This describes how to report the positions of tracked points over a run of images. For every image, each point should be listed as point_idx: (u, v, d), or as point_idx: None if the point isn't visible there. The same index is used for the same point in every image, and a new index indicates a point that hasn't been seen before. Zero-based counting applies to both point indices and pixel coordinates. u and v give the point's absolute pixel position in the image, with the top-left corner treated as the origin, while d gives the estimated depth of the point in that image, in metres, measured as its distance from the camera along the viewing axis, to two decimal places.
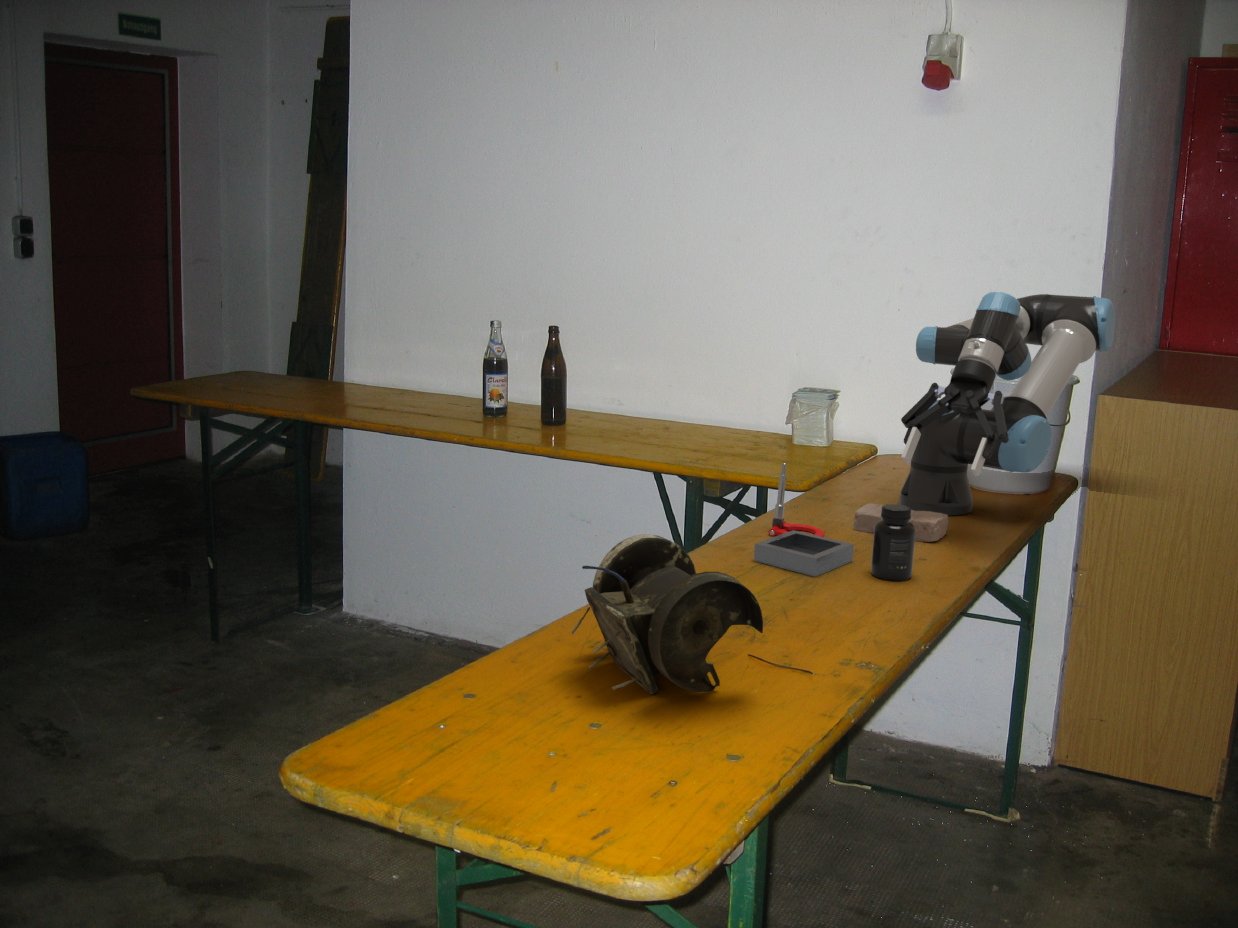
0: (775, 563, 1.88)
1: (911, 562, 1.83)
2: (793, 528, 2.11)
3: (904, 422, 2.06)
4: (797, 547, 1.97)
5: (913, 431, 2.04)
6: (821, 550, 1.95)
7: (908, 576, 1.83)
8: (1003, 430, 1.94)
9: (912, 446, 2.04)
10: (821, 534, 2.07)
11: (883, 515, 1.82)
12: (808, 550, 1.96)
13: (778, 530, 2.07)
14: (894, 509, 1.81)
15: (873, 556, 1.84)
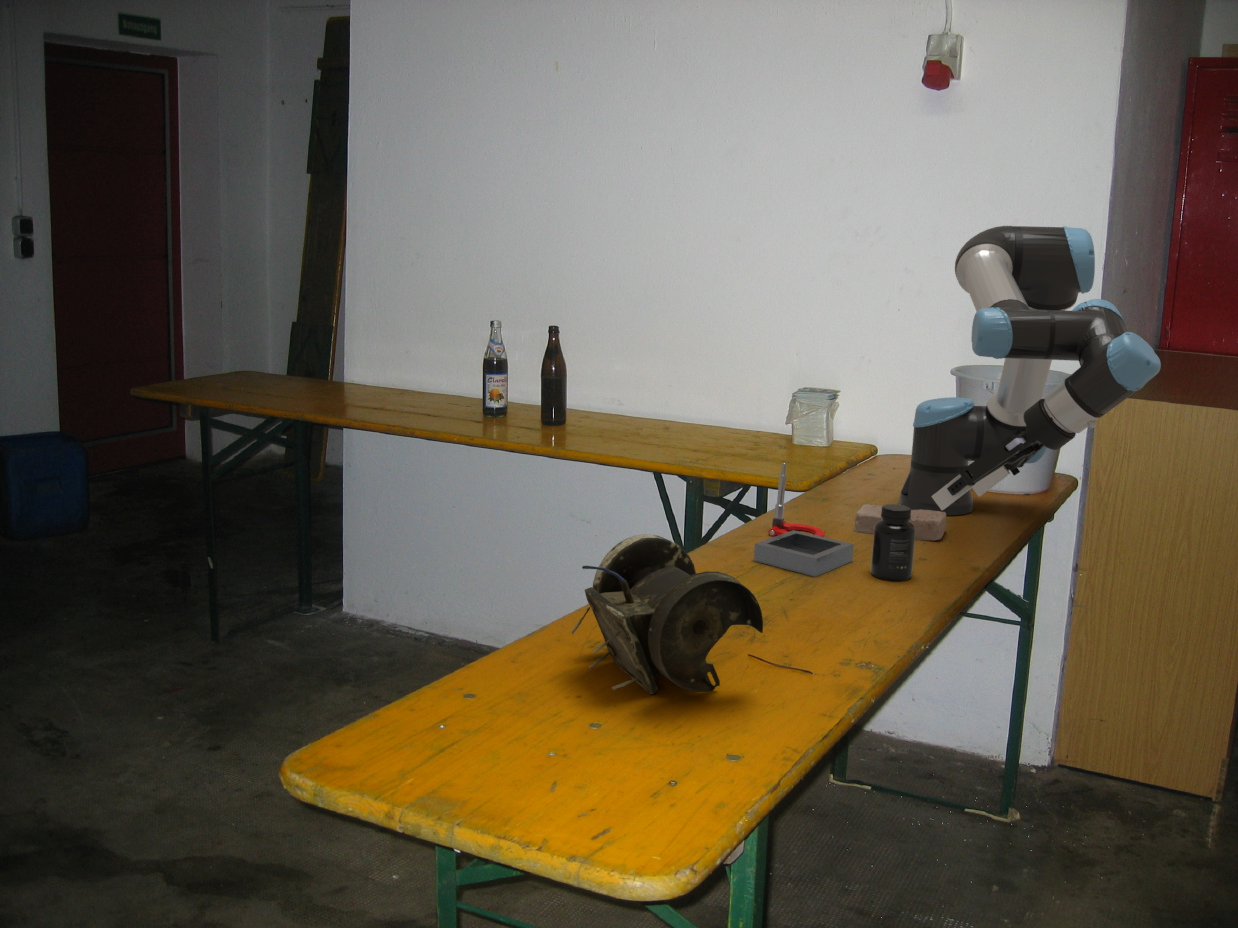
0: (775, 563, 1.88)
1: (911, 562, 1.83)
2: (793, 528, 2.11)
3: None
4: (797, 547, 1.97)
5: (969, 489, 1.66)
6: (821, 550, 1.95)
7: (908, 576, 1.83)
8: None
9: None
10: (821, 534, 2.07)
11: (883, 515, 1.82)
12: (808, 550, 1.96)
13: (778, 530, 2.07)
14: (894, 509, 1.81)
15: (873, 556, 1.84)
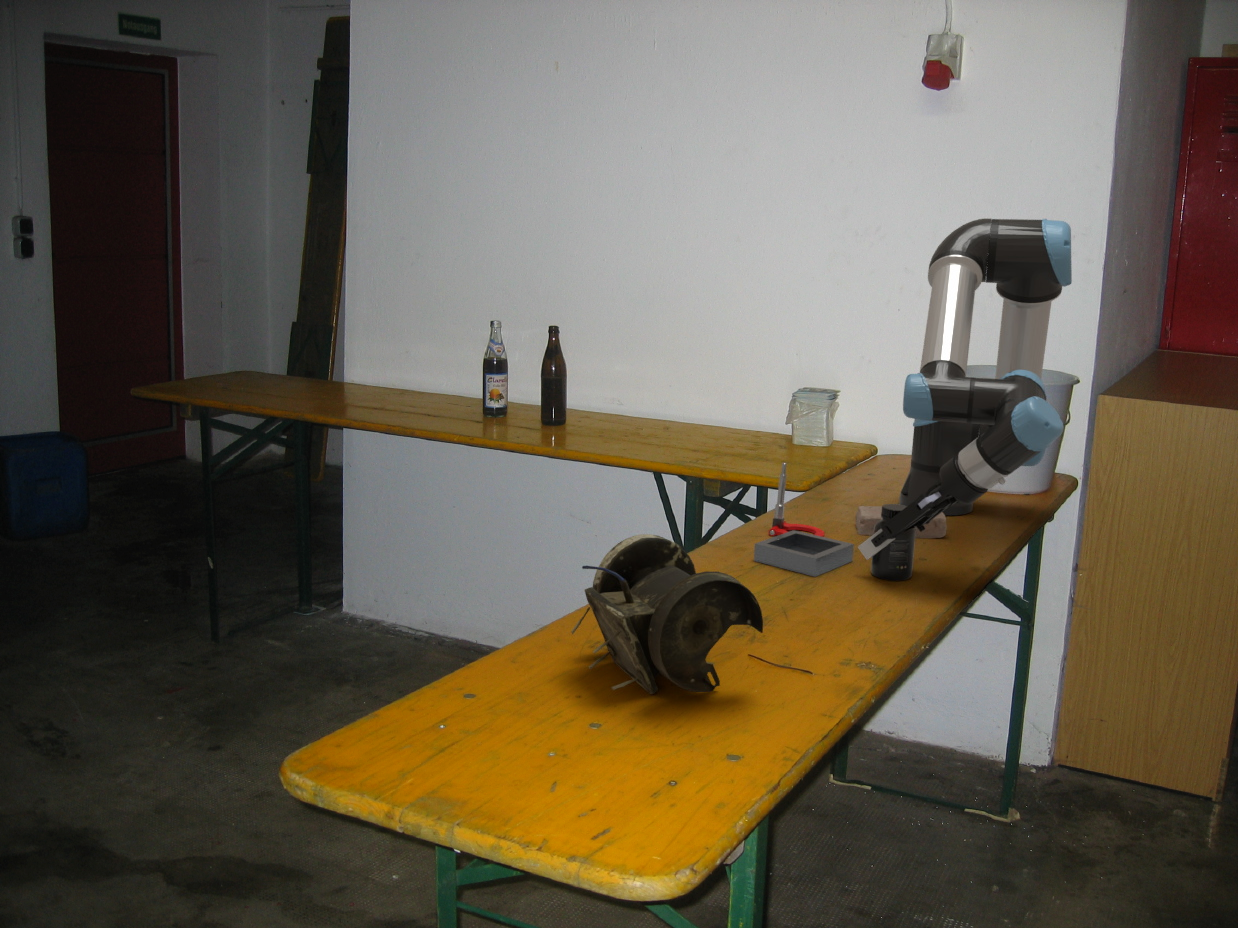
0: (775, 563, 1.88)
1: (911, 562, 1.83)
2: (793, 528, 2.11)
3: None
4: (797, 547, 1.97)
5: (890, 541, 1.80)
6: (821, 550, 1.95)
7: (908, 576, 1.83)
8: (931, 519, 1.86)
9: None
10: (821, 534, 2.07)
11: (883, 515, 1.82)
12: (808, 550, 1.96)
13: (778, 530, 2.07)
14: (894, 509, 1.81)
15: (873, 556, 1.84)
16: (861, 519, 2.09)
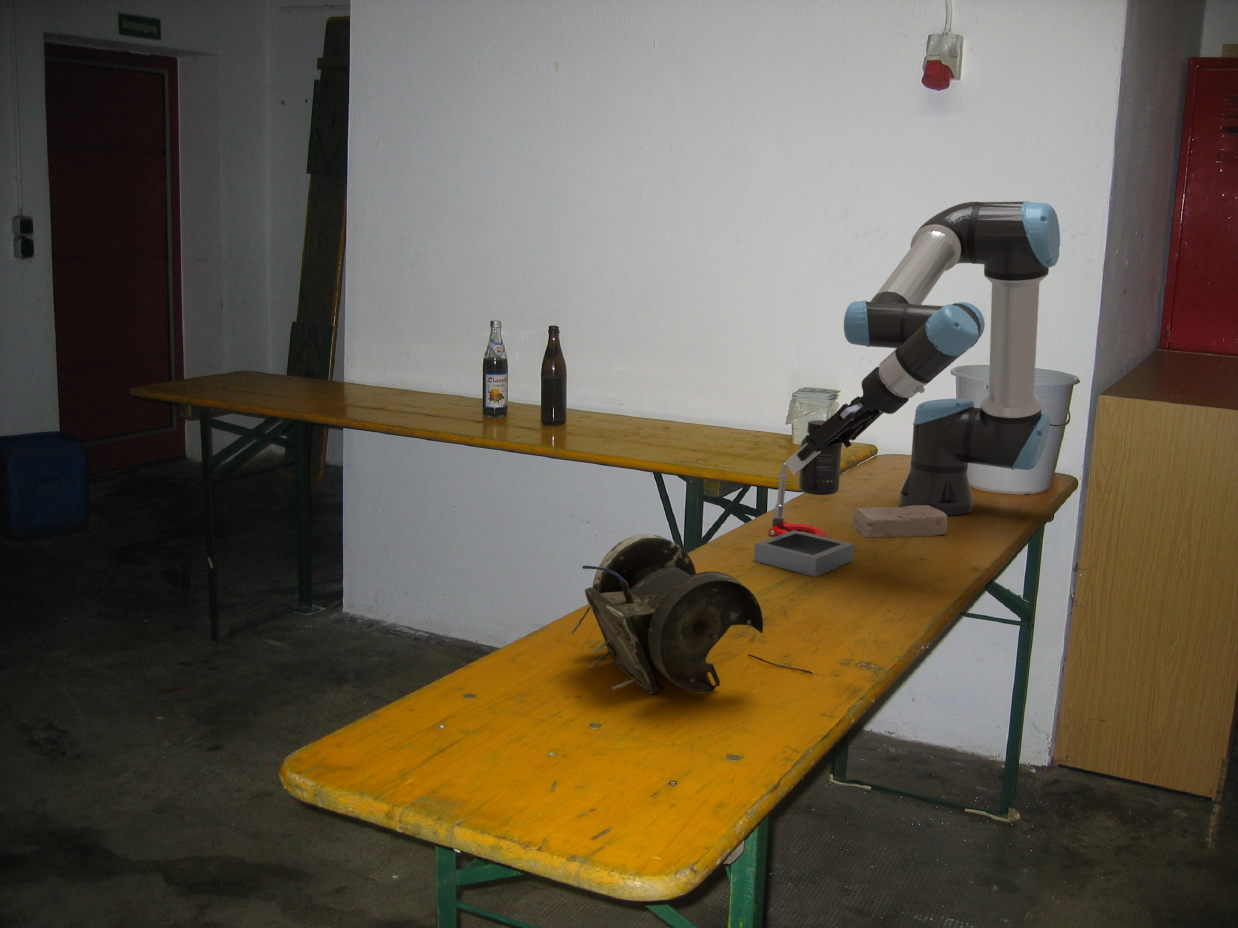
0: (775, 563, 1.88)
1: (837, 476, 1.85)
2: (793, 528, 2.11)
3: None
4: (797, 547, 1.97)
5: (816, 455, 1.83)
6: (821, 550, 1.95)
7: (834, 490, 1.85)
8: (857, 436, 1.89)
9: None
10: (821, 534, 2.07)
11: (809, 430, 1.85)
12: (808, 550, 1.96)
13: (778, 530, 2.07)
14: (819, 424, 1.84)
15: (800, 471, 1.87)
16: (868, 522, 2.08)
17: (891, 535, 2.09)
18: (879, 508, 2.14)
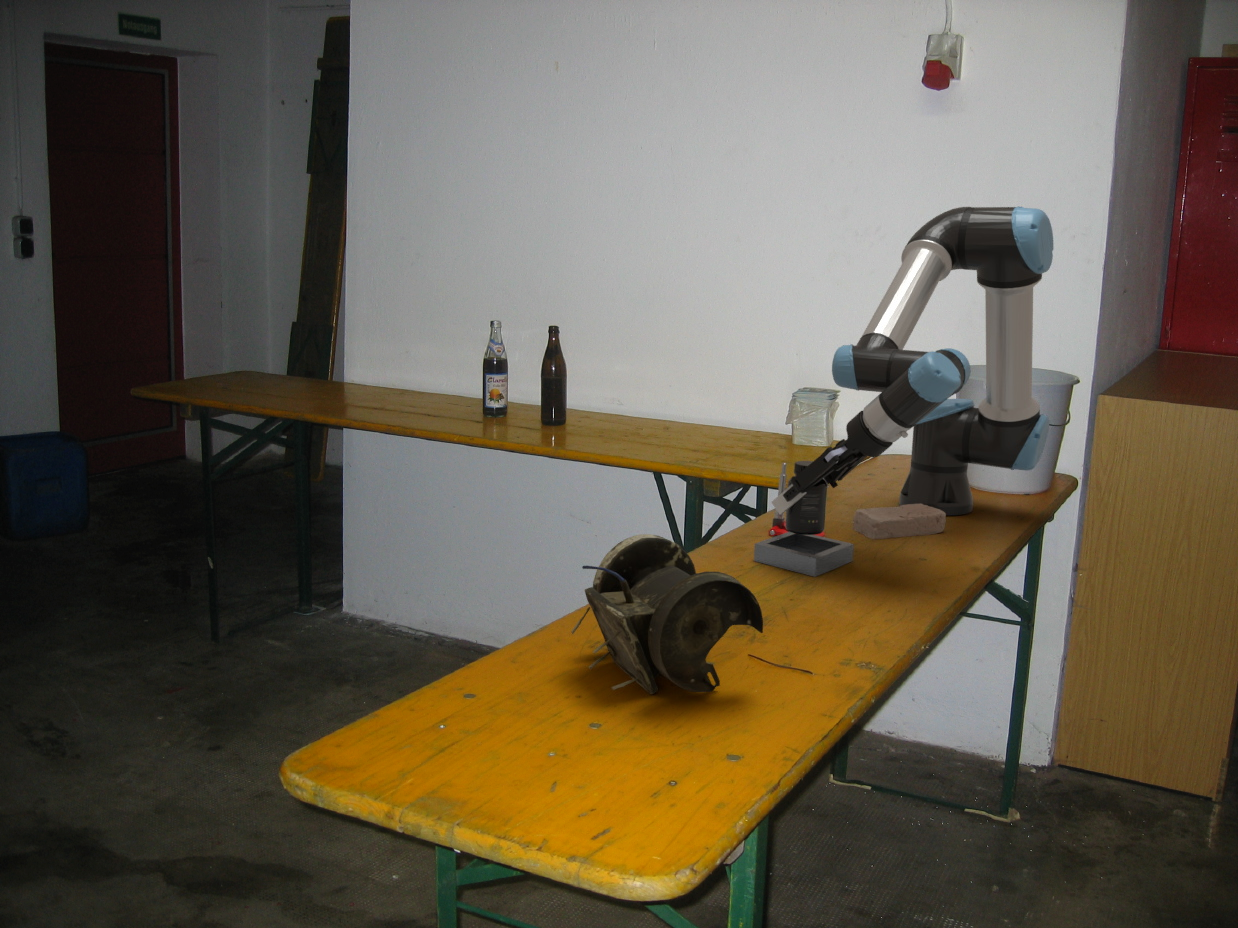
0: (775, 563, 1.88)
1: (823, 517, 1.88)
2: None
3: None
4: (797, 547, 1.97)
5: (801, 496, 1.85)
6: (821, 550, 1.95)
7: (820, 530, 1.88)
8: (844, 476, 1.91)
9: None
10: (821, 534, 2.07)
11: (795, 471, 1.87)
12: (808, 550, 1.96)
13: (778, 530, 2.07)
14: (806, 465, 1.86)
15: (786, 511, 1.89)
16: (874, 523, 2.07)
17: (895, 535, 2.08)
18: (877, 509, 2.14)
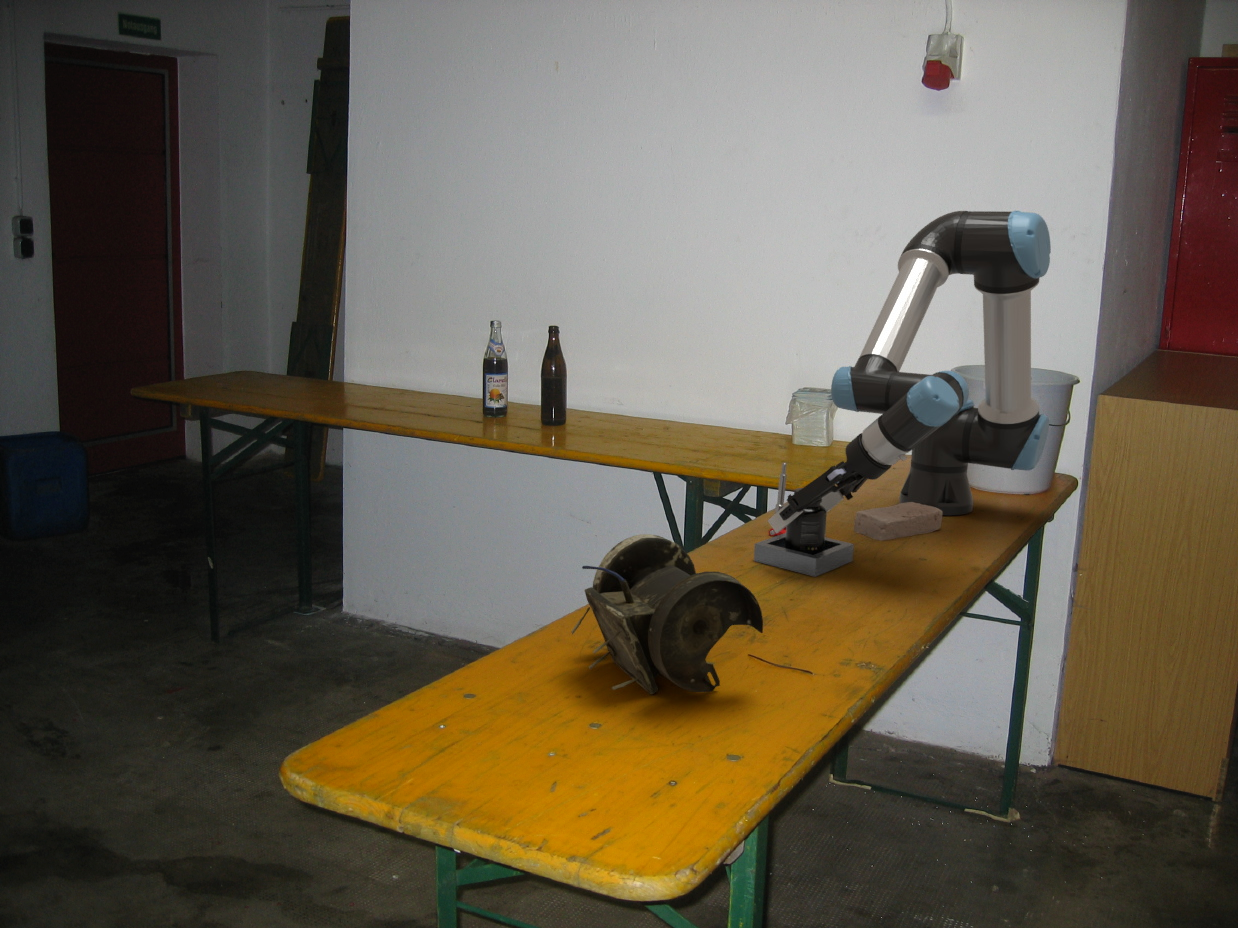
0: (775, 563, 1.88)
1: (822, 544, 1.89)
2: None
3: None
4: None
5: (798, 514, 1.83)
6: None
7: None
8: (858, 488, 1.93)
9: None
10: None
11: None
12: None
13: None
14: None
15: (786, 538, 1.91)
16: (882, 525, 2.06)
17: (900, 536, 2.08)
18: (876, 509, 2.13)
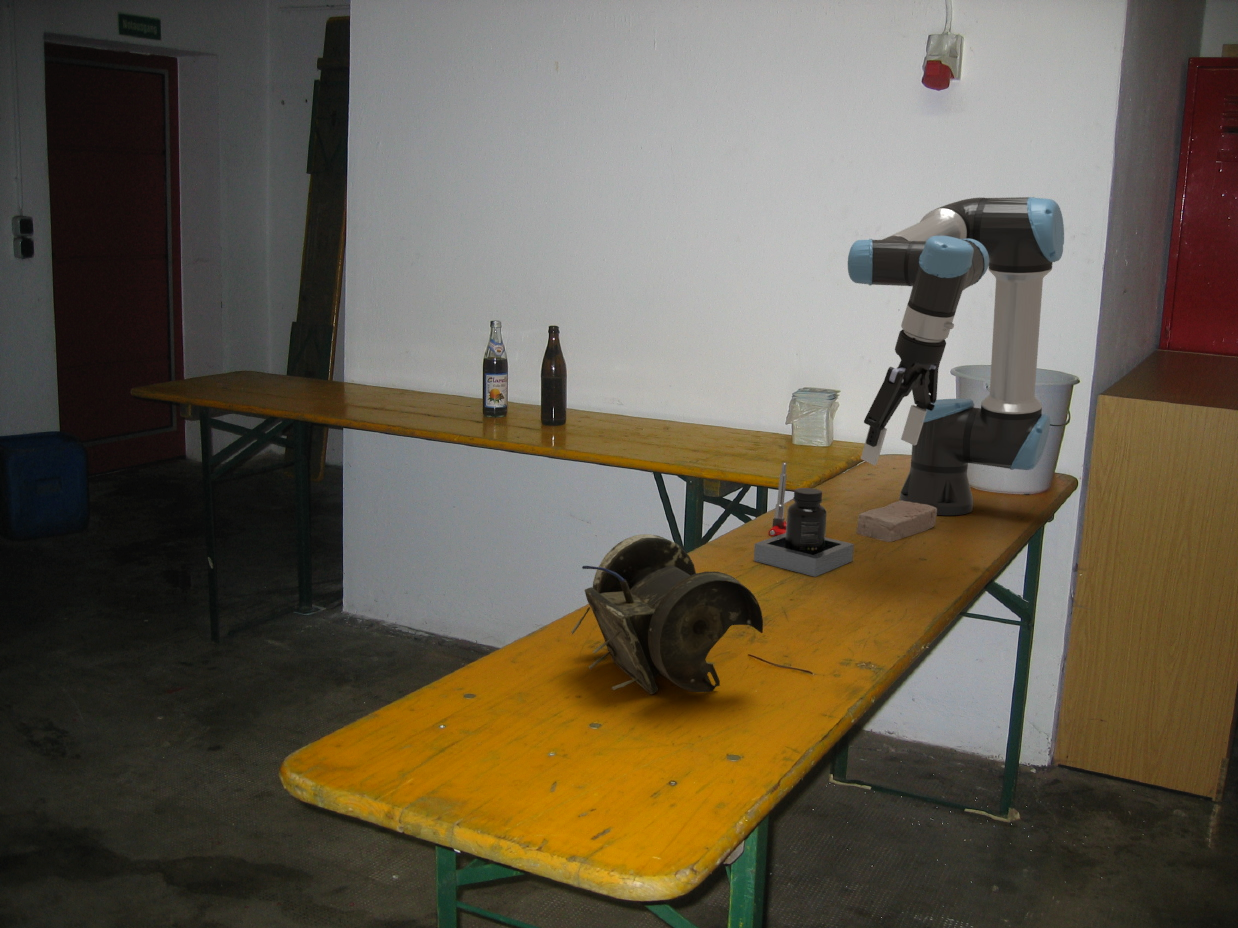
0: (775, 563, 1.88)
1: (822, 544, 1.89)
2: None
3: None
4: None
5: (884, 434, 1.75)
6: None
7: None
8: (936, 396, 1.85)
9: None
10: None
11: (795, 498, 1.89)
12: None
13: (778, 530, 2.07)
14: (805, 492, 1.88)
15: (786, 538, 1.91)
16: (890, 526, 2.05)
17: (904, 535, 2.08)
18: (875, 510, 2.13)
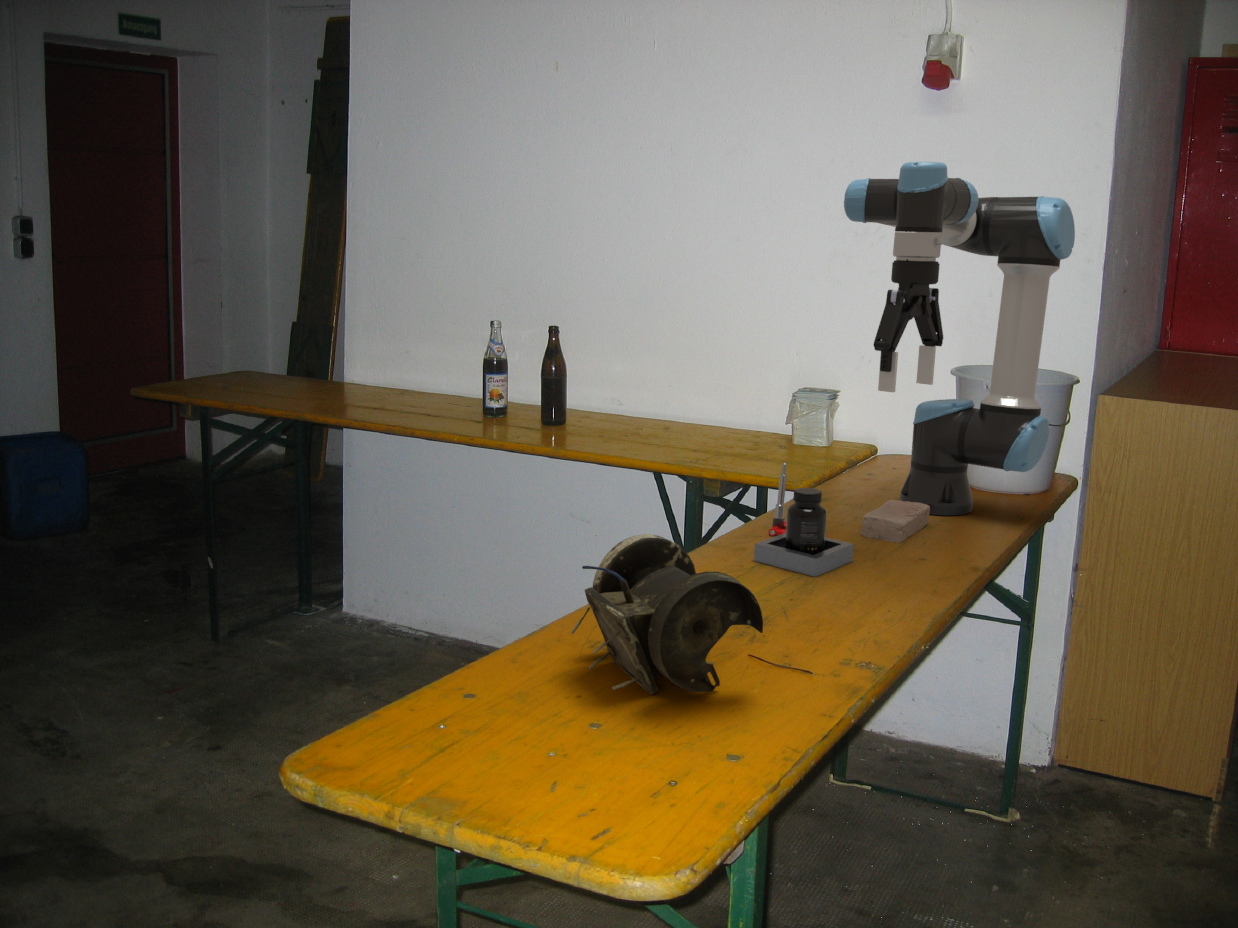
0: (775, 563, 1.88)
1: (822, 544, 1.89)
2: None
3: None
4: None
5: (896, 358, 1.76)
6: None
7: None
8: (942, 333, 1.87)
9: None
10: None
11: (795, 498, 1.89)
12: None
13: (778, 530, 2.07)
14: (805, 492, 1.88)
15: (786, 538, 1.91)
16: (899, 527, 2.05)
17: (908, 535, 2.09)
18: (876, 511, 2.12)
